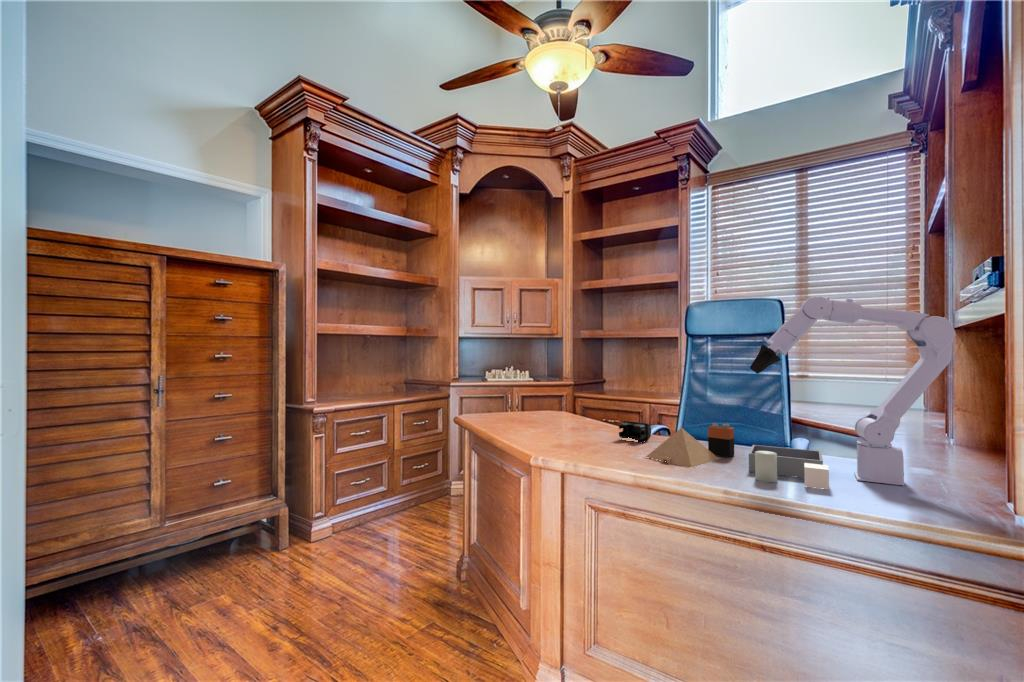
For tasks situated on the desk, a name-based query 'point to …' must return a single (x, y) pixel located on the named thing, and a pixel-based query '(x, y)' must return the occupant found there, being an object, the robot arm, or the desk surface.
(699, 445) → the model pyramid
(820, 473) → the cube
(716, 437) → the battery
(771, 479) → the cylinder
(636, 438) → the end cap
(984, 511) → the desk surface
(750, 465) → the tote
